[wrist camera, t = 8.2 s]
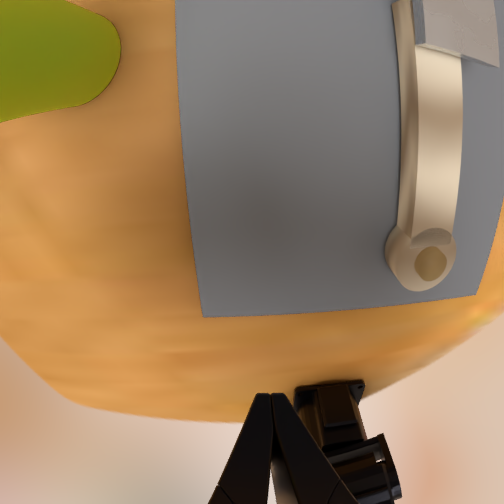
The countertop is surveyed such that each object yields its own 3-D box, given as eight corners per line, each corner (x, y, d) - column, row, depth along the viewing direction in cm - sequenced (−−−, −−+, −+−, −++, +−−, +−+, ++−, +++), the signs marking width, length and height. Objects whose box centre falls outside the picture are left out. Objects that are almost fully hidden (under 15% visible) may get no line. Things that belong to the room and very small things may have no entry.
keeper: (456, 66, 14) (499, 67, 10) (388, 50, 14) (425, 43, 10) (448, -23, 11) (486, -37, 7) (379, -45, 11) (410, -69, 7)
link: (433, 269, 20) (453, 292, 17) (380, 276, 20) (396, 302, 18) (442, 15, 12) (471, 9, 9) (378, 3, 12) (401, -10, 9)
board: (472, 291, 22) (475, 294, 22) (203, 312, 22) (203, 317, 21) (504, 0, 11) (508, -1, 10) (177, -57, 11) (176, -60, 10)
